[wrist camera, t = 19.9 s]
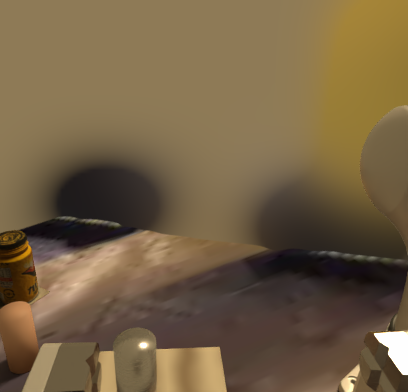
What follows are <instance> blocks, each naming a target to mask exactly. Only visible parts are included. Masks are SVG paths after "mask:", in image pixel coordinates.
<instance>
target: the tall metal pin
mask: <svg viewBox="0 0 408 392" xmlns="http://www.w3.org/2000/svg"><path fill="white" fill-rule="evenodd" d="M113 351H114V363H115V375H116V387H117V392H157V364H156V338H155V336H154V334H153V333H152V332H150V331H149V330H147V329H144V328H131V329H128V330H125V331H123V332H122V333H120V334H119V335H118V336H117V337H116V339H115V341H114V343H113Z"/></svg>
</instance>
